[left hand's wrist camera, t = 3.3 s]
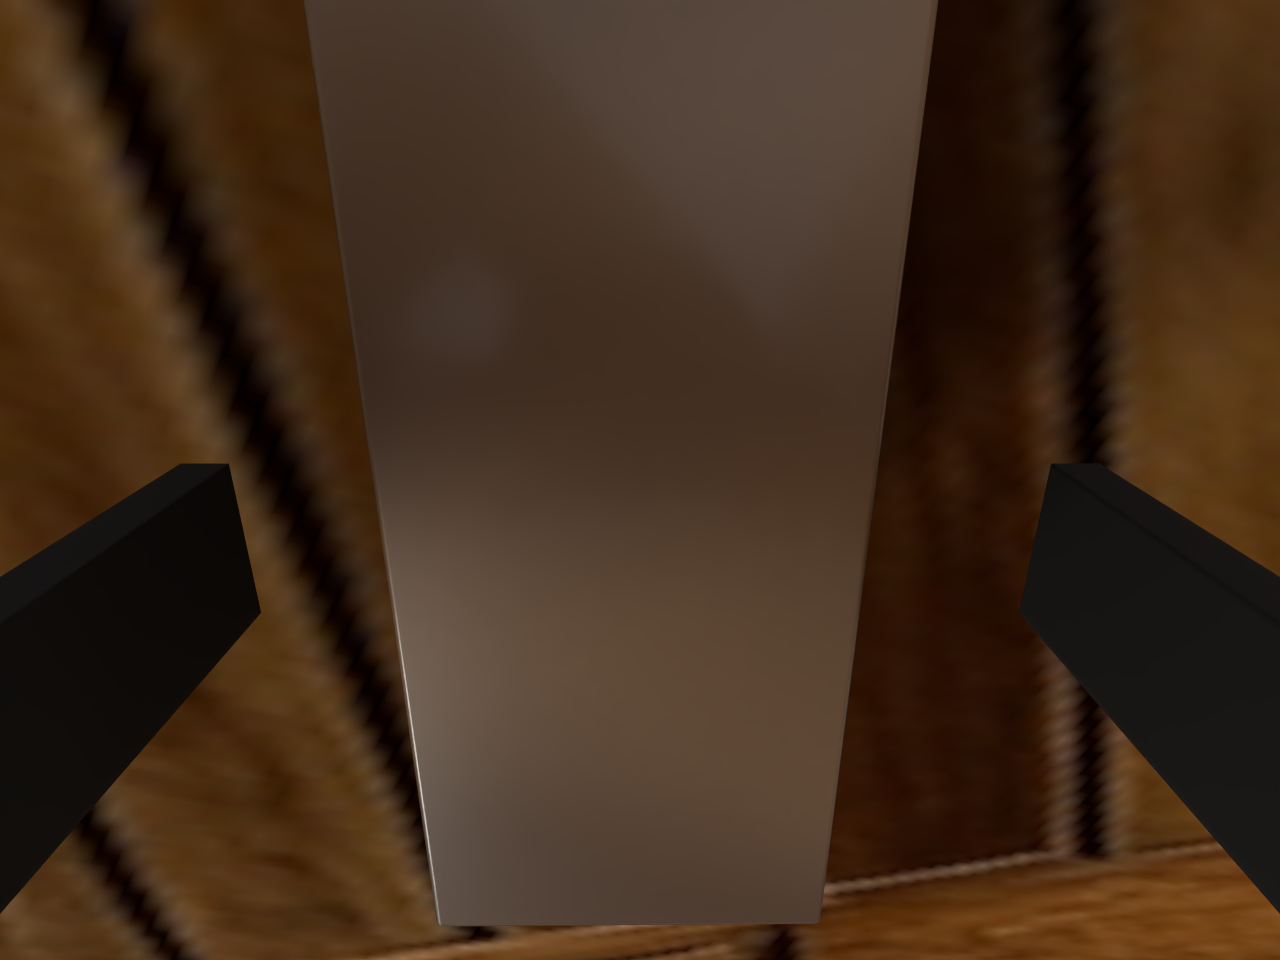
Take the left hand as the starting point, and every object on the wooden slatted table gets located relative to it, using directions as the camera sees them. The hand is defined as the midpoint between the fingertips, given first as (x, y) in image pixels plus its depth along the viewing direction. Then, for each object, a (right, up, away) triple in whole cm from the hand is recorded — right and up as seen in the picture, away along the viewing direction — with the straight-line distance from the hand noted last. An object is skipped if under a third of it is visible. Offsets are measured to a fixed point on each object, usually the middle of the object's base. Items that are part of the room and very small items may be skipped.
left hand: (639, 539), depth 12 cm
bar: (0, +9, 0) cm, 9 cm away
